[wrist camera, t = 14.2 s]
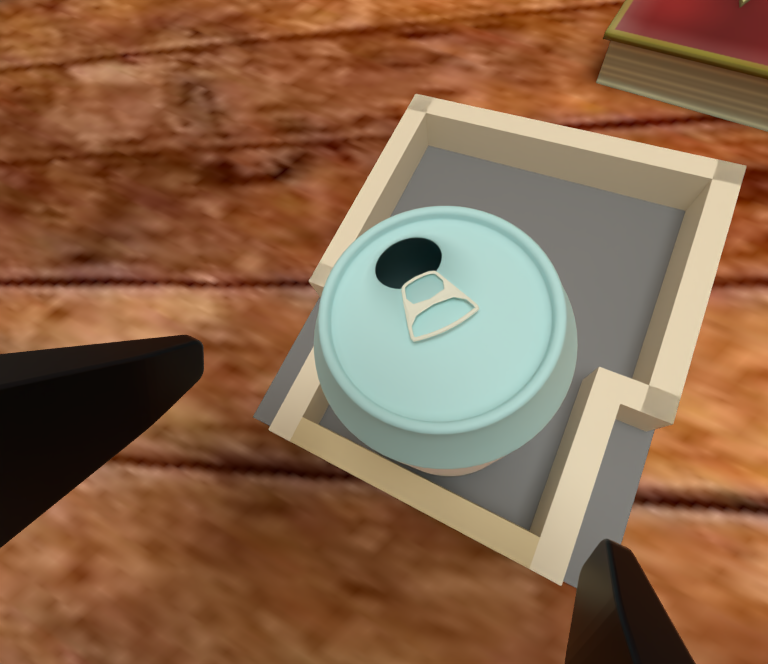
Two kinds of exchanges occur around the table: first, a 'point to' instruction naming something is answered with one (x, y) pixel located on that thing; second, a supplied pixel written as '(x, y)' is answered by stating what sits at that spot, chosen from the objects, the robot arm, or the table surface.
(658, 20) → the hardcover book
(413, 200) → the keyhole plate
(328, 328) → the can
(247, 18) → the table surface
